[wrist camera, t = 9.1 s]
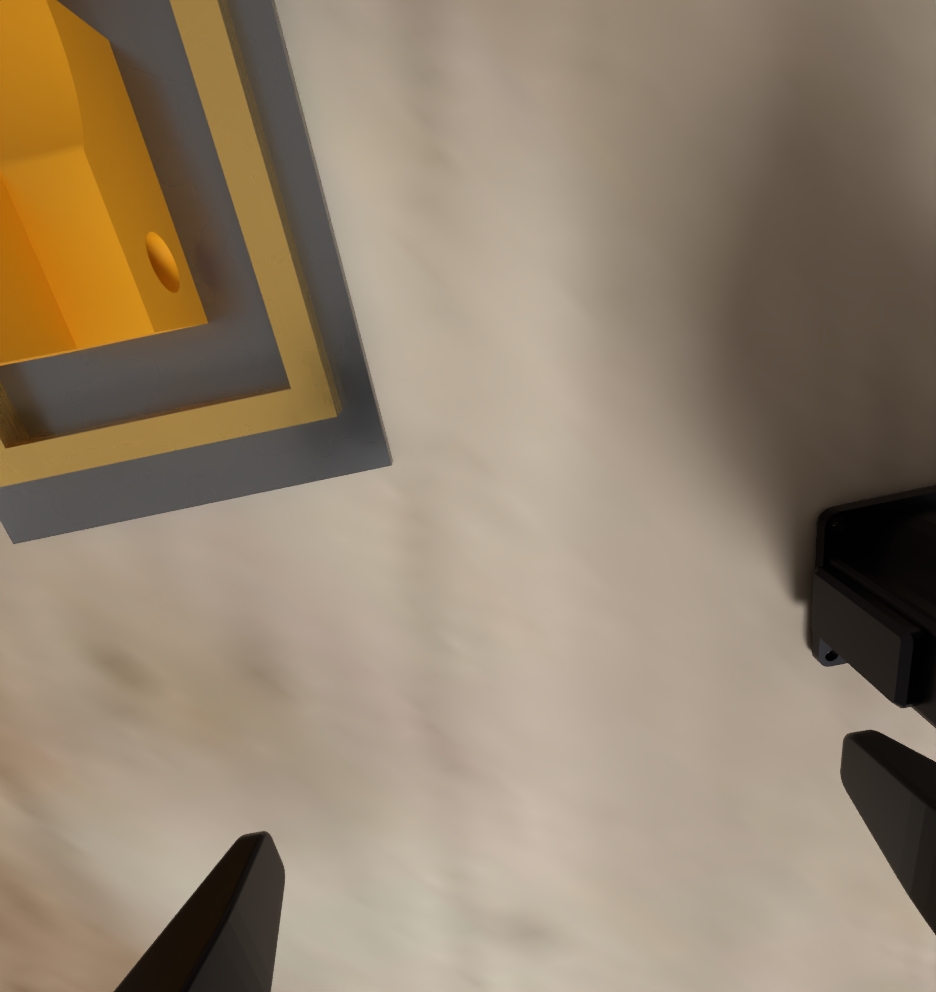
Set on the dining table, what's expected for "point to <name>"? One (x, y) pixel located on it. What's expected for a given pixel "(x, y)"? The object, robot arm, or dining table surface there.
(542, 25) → the dining table surface
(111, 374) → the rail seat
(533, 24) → the dining table surface
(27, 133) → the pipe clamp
